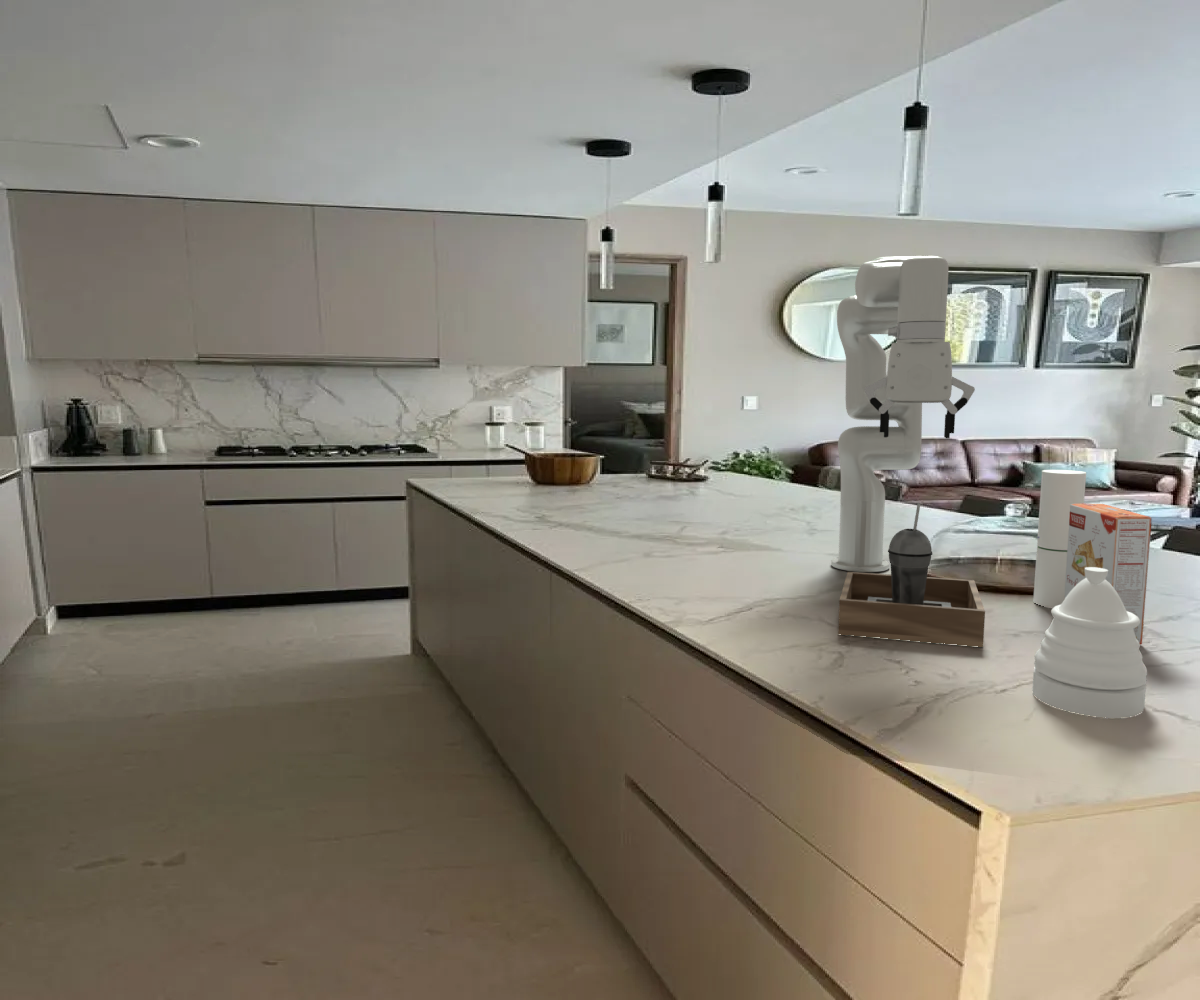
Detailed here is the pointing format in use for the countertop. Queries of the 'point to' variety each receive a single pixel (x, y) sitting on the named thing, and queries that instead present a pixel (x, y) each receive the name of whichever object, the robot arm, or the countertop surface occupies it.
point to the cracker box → (1111, 552)
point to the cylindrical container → (1055, 533)
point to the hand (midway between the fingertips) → (916, 437)
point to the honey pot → (1091, 653)
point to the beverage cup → (909, 564)
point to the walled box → (912, 611)
